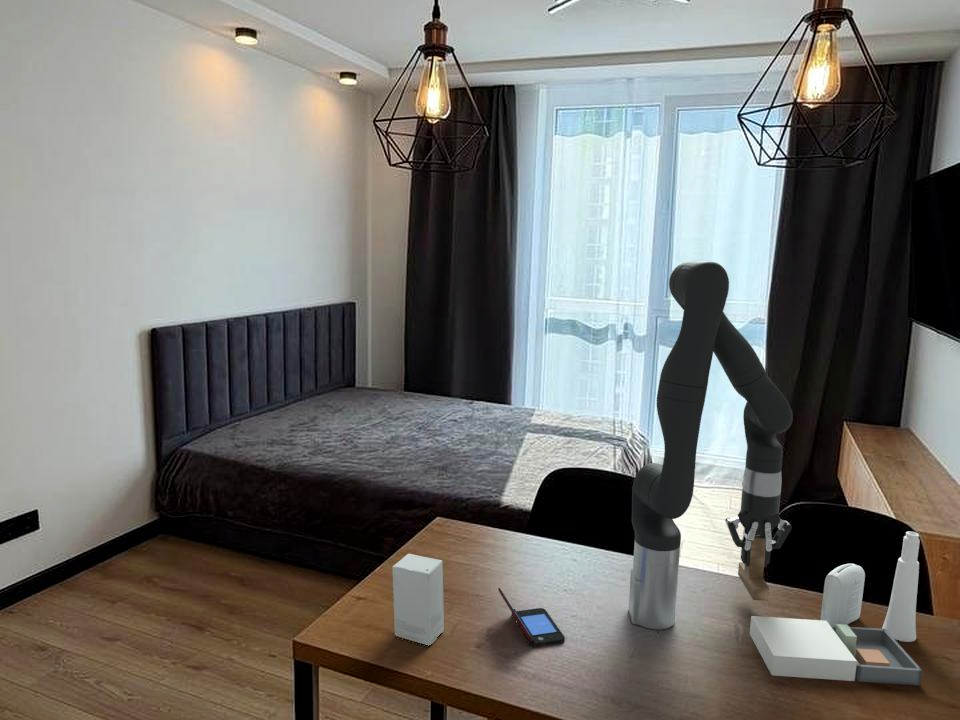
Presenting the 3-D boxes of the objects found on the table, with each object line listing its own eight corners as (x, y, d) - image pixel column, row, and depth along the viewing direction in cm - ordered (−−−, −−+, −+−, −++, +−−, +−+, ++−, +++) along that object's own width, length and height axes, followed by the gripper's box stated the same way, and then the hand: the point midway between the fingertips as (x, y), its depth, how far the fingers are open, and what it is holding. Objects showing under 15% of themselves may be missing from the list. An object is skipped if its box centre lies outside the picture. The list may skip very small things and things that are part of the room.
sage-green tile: (846, 636, 131) (856, 636, 131) (836, 624, 135) (847, 624, 135) (843, 655, 132) (854, 656, 132) (834, 643, 136) (844, 644, 136)
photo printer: (843, 609, 150) (849, 556, 148) (862, 618, 147) (869, 564, 144) (816, 622, 145) (822, 568, 142) (836, 632, 141) (843, 576, 139)
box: (856, 681, 125) (858, 666, 125) (825, 638, 138) (827, 625, 138) (920, 685, 124) (922, 670, 124) (883, 642, 138) (885, 629, 137)
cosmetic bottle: (878, 623, 144) (891, 525, 141) (910, 628, 143) (924, 529, 139) (886, 639, 139) (900, 537, 135) (920, 644, 137) (935, 541, 133)
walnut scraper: (753, 600, 143) (757, 546, 141) (737, 574, 154) (742, 524, 152) (767, 600, 143) (772, 547, 141) (751, 575, 154) (756, 525, 152)
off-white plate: (771, 675, 126) (773, 655, 126) (749, 634, 140) (751, 616, 139) (854, 681, 125) (857, 661, 124) (824, 638, 138) (826, 620, 138)
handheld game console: (566, 644, 135) (568, 609, 134) (515, 652, 132) (516, 617, 131) (544, 611, 147) (545, 579, 146) (496, 618, 144) (496, 585, 143)
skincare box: (444, 632, 138) (445, 560, 136) (428, 649, 132) (429, 574, 130) (408, 621, 142) (409, 551, 139) (391, 638, 136) (391, 564, 133)
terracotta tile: (889, 663, 127) (888, 673, 127) (878, 650, 131) (877, 659, 131) (866, 661, 127) (865, 671, 127) (856, 648, 131) (854, 658, 131)
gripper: (732, 493, 141) (726, 571, 144) (802, 496, 140) (794, 575, 143) (722, 481, 149) (716, 555, 152) (789, 483, 147) (782, 558, 150)
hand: (754, 564), depth 147 cm, fingers closed on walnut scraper, 3 cm apart
